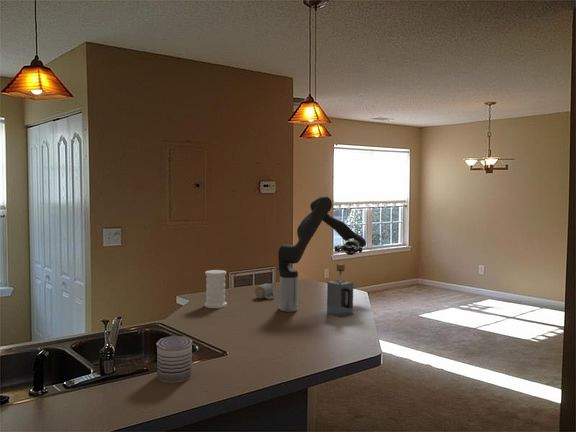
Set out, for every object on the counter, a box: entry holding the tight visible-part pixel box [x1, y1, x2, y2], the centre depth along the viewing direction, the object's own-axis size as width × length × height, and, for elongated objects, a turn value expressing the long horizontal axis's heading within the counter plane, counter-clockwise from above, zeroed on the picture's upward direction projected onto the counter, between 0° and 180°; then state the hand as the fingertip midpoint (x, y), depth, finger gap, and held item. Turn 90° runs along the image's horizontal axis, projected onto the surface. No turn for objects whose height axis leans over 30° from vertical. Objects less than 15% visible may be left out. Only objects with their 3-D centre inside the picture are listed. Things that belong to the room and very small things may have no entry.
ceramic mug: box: [254, 283, 276, 300], centre depth 287 cm, size 11×8×8 cm
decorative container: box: [204, 269, 228, 309], centre depth 268 cm, size 12×12×18 cm
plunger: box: [335, 263, 346, 283], centre depth 252 cm, size 7×7×20 cm
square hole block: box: [326, 279, 354, 318], centre depth 251 cm, size 12×9×16 cm
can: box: [155, 335, 194, 384], centre depth 168 cm, size 11×11×12 cm
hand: (346, 250), depth 264 cm, fingers open, 8 cm apart
